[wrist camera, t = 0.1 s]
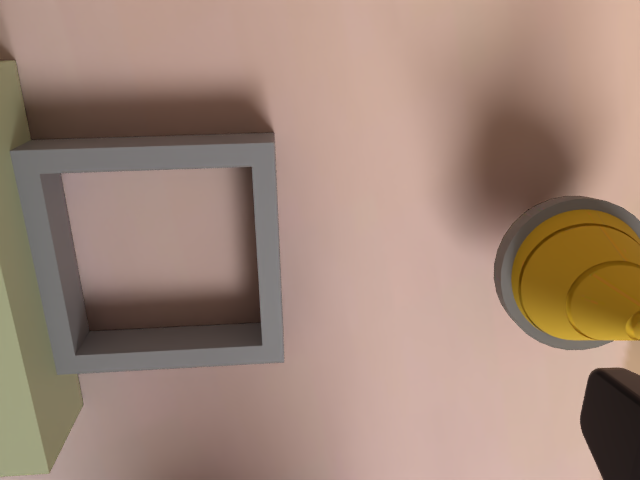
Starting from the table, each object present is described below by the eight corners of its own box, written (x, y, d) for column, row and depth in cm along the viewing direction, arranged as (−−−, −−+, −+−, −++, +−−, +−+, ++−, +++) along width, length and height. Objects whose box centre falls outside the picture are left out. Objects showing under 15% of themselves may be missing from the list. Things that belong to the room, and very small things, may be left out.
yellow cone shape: (512, 339, 24) (625, 476, 14) (453, 228, 24) (530, 293, 14) (631, 279, 24) (835, 380, 14) (575, 164, 23) (747, 184, 13)
